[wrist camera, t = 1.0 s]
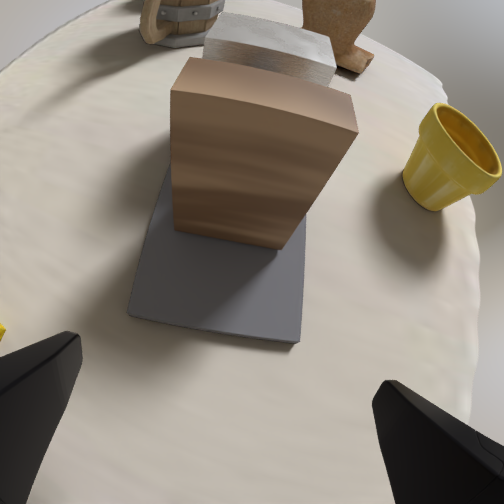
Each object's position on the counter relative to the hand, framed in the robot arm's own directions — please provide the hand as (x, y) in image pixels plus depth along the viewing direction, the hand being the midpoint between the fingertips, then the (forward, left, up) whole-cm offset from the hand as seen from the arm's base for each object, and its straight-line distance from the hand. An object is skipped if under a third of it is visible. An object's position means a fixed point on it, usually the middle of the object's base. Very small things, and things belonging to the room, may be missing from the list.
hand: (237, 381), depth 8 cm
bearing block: (+14, +17, -12) cm, 25 cm away
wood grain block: (+10, +13, -11) cm, 20 cm away
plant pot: (+31, +4, -13) cm, 34 cm away
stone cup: (+38, +30, -13) cm, 50 cm away
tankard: (+16, +42, -13) cm, 46 cm away
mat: (+10, +13, -13) cm, 21 cm away
